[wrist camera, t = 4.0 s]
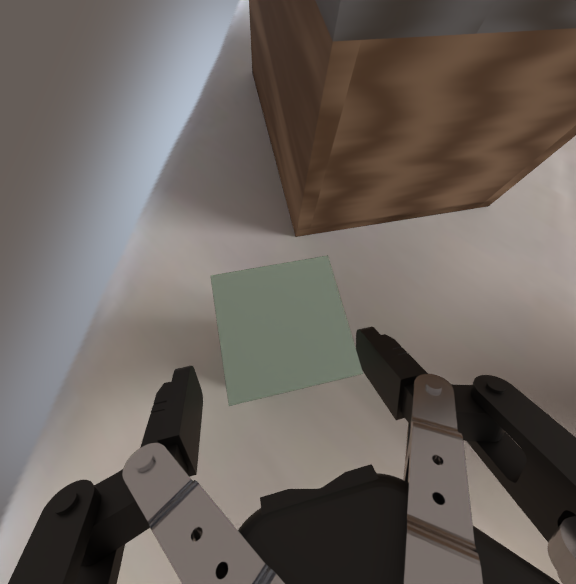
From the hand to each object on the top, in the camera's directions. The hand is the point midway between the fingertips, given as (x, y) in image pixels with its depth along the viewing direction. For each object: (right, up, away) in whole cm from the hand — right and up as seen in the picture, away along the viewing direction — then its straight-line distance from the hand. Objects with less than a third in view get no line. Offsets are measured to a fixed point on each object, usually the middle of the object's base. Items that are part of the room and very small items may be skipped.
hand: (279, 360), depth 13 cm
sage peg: (-1, -2, +8) cm, 8 cm away
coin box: (+8, +20, +16) cm, 27 cm away
